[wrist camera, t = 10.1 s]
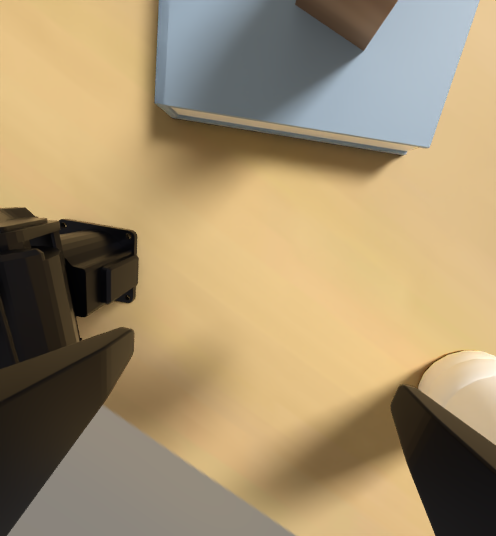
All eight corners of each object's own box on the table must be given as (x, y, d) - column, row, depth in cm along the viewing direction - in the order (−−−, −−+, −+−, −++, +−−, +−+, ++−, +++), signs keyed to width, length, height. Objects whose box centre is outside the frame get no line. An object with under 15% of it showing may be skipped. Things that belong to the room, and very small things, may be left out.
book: (172, 117, 18) (154, 103, 15) (186, -109, 15) (166, -183, 12) (402, 155, 18) (429, 147, 15) (472, -67, 14) (524, -133, 11)
